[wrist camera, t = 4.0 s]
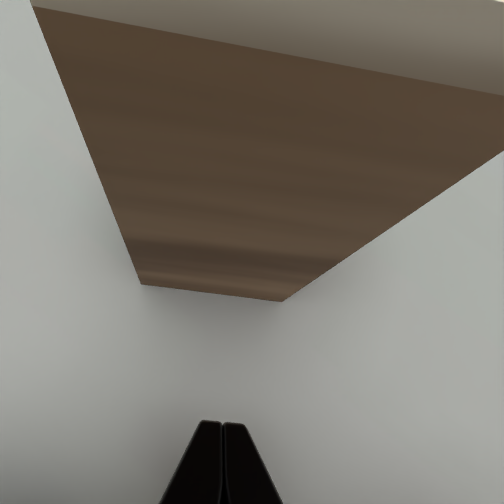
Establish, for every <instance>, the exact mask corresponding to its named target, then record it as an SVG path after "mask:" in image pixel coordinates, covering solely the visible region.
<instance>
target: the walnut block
mask: <svg viewBox="0 0 504 504" xmlns="http://www.w3.org/2000/svg"><path fill="white" fill-rule="evenodd" d="M30 2H31V5H32V7H33V10H34V12H35V15H36V18H37V20H38V23H39V25H40V28H41V30H42V33H43V35H44V38H45V41H46V43H47V46H48V48H49V51H50V53H51V56H52V58H53V61H54V63H55V66H56V69H57V71H58V74H59V76H60V79H61V81H62V84H63V86H64V89H65V91H66V94H67V97H68V99H69V102H70V104H71V107H72V109H73V112H74V114H75V117H76V120H77V122H78V125H79V127H80V130H81V132H82V135H83V137H84V140H85V142H86V145H87V148H88V150H89V153H90V155H91V158H92V160H93V163H94V165H95V168H96V171H97V173H98V176H99V178H100V181H101V183H102V186H103V188H104V191H105V193H106V196H107V199H108V201H109V204H110V206H111V209H112V211H113V214H114V216H115V219H116V221H117V224H118V227H119V229H120V232H121V234H122V237H123V239H124V242H125V244H126V247H127V250H128V252H129V255H130V257H131V260H132V262H133V265H134V267H135V270H136V272H137V275H138V278H139V280H140V283H141V284H144V285H152V286H159V287H167V288H175V289H183V290H191V291H199V292H207V293H215V294H223V295H231V296H239V297H247V298H255V299H263V300H271V301H279V302H282V301H284V300H285V299H287V298H288V297H290V296H291V295H293V294H294V293H296V292H297V291H299V290H300V289H301V288H303V287H304V286H306V285H307V284H309V283H310V282H312V281H313V280H315V279H316V278H318V277H319V276H321V275H322V274H323V273H325V272H326V271H328V270H329V269H331V268H332V267H334V266H335V265H337V264H338V263H340V262H341V261H342V260H344V259H345V258H347V257H348V256H350V255H351V254H353V253H354V252H356V251H357V250H359V249H360V248H362V247H363V246H364V245H366V244H367V243H369V242H370V241H372V240H373V239H375V238H376V237H378V236H379V235H381V234H382V233H383V232H385V231H386V230H388V229H389V228H391V227H392V226H394V225H395V224H397V223H398V222H400V221H401V220H403V219H404V218H405V217H407V216H408V215H410V214H411V213H413V212H414V211H416V210H417V209H419V208H420V207H422V206H423V205H424V204H426V203H427V202H429V201H430V200H432V199H433V198H435V197H436V196H438V195H439V194H441V193H442V192H444V191H445V190H446V189H448V188H449V187H451V186H452V185H454V184H455V183H457V182H458V181H460V180H461V179H463V178H464V177H465V176H467V175H468V174H470V173H471V172H473V171H474V170H476V169H477V168H479V167H480V166H482V165H483V164H485V163H486V162H487V161H489V160H490V159H492V158H493V157H495V156H496V155H498V154H499V153H501V152H502V151H504V0H30Z"/></svg>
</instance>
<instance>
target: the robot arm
mask: <svg viewBox="0 0 504 504" xmlns="http://www.w3.org/2000/svg"><path fill="white" fill-rule="evenodd" d="M159 504H283V502H282V500H281V498H280V496H279V494H278V492H277V490H276V488H275V486H274V483H273V481H272V479H271V477H270V475H269V473H268V471H267V469H266V467H265V465H264V463H263V461H262V458H261V456H260V454H259V452H258V450H257V448H256V446H255V444H254V442H253V440H252V438H251V436H250V433H249V431H248V429H247V428H246V426H245V425H244V424H241V423H230V422H226V423H224V424H223V425H222V423H221V422H219V421H209V420H202V421H201V422H200V423H199V424H198V426H197V428H196V430H195V432H194V434H193V436H192V438H191V440H190V442H189V444H188V446H187V448H186V450H185V452H184V454H183V456H182V458H181V460H180V462H179V464H178V466H177V468H176V470H175V472H174V474H173V476H172V478H171V480H170V482H169V484H168V486H167V488H166V490H165V492H164V494H163V497H162V499H161V501H160V503H159Z"/></svg>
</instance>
